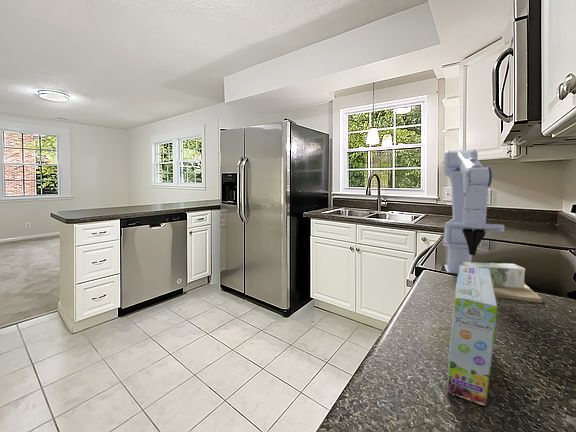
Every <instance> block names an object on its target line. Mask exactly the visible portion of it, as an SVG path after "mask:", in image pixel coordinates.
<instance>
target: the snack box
mask: <svg viewBox="0 0 576 432" xmlns="http://www.w3.org/2000/svg"><path fill="white" fill-rule="evenodd" d="M496 298H497V297H495V293H494V289H493V284H492V279H491V274H490V270H489V269H487V268H479V267H473V266H464V265H460V267H459V272H458V274H457V278H456V285H455V292H454V298H453V308H452V319H451V328H450V341H449V355H448V373H447V389H446V394H447V393H451V394H455V395H459V396H463V397H466V398H469V399H471V400H474V401H478V402H481V403H484V404H486V403H487V404H488V395H489V387H490V386H489V385H490V377H491V375H490V374H491V369H492V362H493V361H492V360H493V351H494V342H495V333H496V325H497V313H498V304H497V300H496Z"/></svg>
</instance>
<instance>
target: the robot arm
mask: <svg viewBox="0 0 576 432" xmlns="http://www.w3.org/2000/svg"><path fill="white" fill-rule="evenodd" d="M478 157H479V155H478V150H476V149H467V150H465V149H464V150H463V149H461V150H459V149H458V150H449V149H447V150H446V152H445V153H444V157H443V161H444V162H443V164H444V165H443V168H444V175H445V176H446V177H448V178H449V180H450V184H451V203H452V204H451V205H452V219H450V220H449V221H447V222H445V225H444V232H443V243H444V244H445V245H446V246H448V247H447V263H446V264H444V268H445V271H446V273H448V274H455V275H456V274H457V275H458V272H459V267H460V265H463V262H472V256H476V254H477V250H478V248H479V245H480V243H481V242H482V240H483V239H484V237H485V236H486V233H487V232H497V233H498V232H499V233H505V225H504V224H498V223H486V222H487V211H488V210H487V209H488V208H487V207H488V196H489V188H490V187H491V186H492V182H493V170H492V168H491V166H487V167H484V166H483V165H482V163H481V162H480V160H479V159H478Z"/></svg>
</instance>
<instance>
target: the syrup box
mask: <svg viewBox="0 0 576 432" xmlns="http://www.w3.org/2000/svg"><path fill="white" fill-rule="evenodd" d="M463 265H464V266H473V267H479V268H487V269H489V270H490V274H491V279H492V284H493V286H501V287H516V288H524V283H525V273H526V268H525V267H523V266H520V265H517V264H515V263H507V262H506V263H505V262H501V263H500V262H483V261H482V262H480V261H476V262H475V261H471V262H463Z"/></svg>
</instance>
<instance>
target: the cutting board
mask: <svg viewBox="0 0 576 432" xmlns="http://www.w3.org/2000/svg"><path fill="white" fill-rule="evenodd" d="M493 289H494V293H495V298H499V299H500V298H501V299H508V300H509V299H510V300H514V301H515V300H517V301H523V302H530V303H531V302H532V303H533V302H534V303H543V298H542V297H540V296H539V295H538V294H537V293H536V292H535V291H534V290H533V289H531V288H530V286H528V285H527V284H526V282H524V288H516V287H501V286H493Z"/></svg>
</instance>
